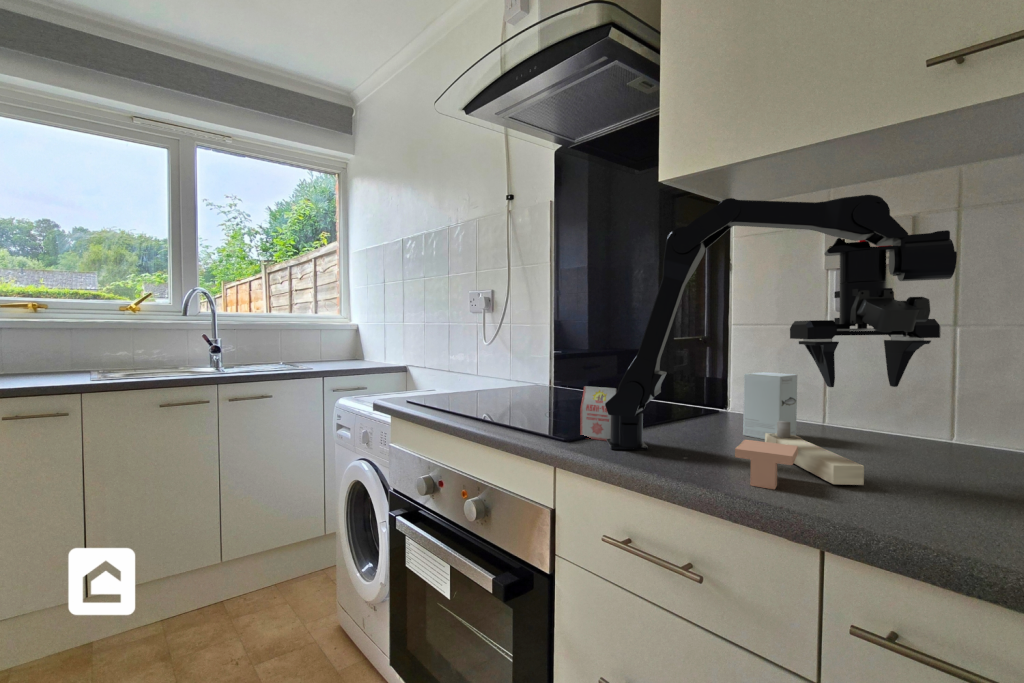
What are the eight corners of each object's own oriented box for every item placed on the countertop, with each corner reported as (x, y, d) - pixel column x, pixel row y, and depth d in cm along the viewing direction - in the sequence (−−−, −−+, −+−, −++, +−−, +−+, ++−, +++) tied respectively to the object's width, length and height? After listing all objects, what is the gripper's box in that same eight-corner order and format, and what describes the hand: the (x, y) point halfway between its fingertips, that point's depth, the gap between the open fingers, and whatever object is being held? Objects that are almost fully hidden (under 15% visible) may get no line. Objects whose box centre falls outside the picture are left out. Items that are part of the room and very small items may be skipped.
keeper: (744, 470, 75) (744, 439, 75) (797, 479, 71) (798, 445, 71) (734, 482, 69) (735, 448, 69) (791, 492, 65) (792, 456, 65)
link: (761, 447, 88) (761, 419, 88) (791, 448, 88) (791, 419, 88) (828, 484, 67) (829, 447, 67) (868, 484, 67) (869, 447, 67)
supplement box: (779, 442, 94) (780, 376, 93) (741, 435, 100) (742, 373, 99) (797, 437, 98) (798, 373, 98) (760, 431, 104) (761, 371, 104)
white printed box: (587, 434, 101) (588, 385, 101) (619, 438, 98) (619, 387, 97) (580, 437, 98) (580, 387, 98) (612, 441, 95) (613, 389, 94)
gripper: (829, 278, 67) (829, 394, 67) (974, 276, 66) (973, 393, 66) (788, 286, 78) (788, 385, 78) (911, 284, 77) (911, 384, 77)
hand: (862, 386), depth 75 cm, fingers open, 9 cm apart
